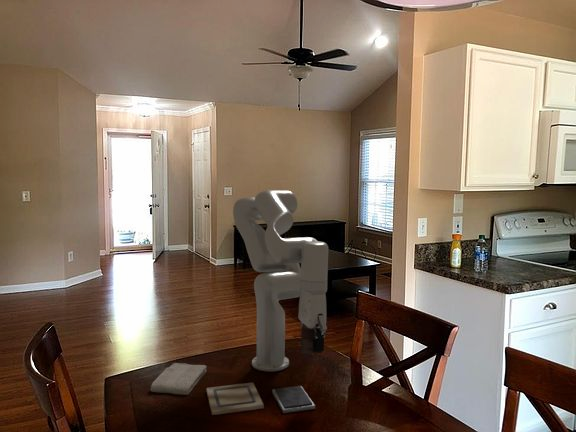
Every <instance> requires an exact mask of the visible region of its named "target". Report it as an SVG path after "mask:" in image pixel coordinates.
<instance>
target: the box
mask: <svg viewBox="0 0 576 432" xmlns="http://www.w3.org/2000/svg"><path fill="white" fill-rule="evenodd" d="M316 326H320V325H316ZM301 327H302V334H300V339H301V340H300V341H301V342H300V345H301V346H300V353H302V354H315V355H322V354H323V351H320V352H313V338H314V333H313V328H312V329H309V328H308V327H307V326H306V325H304V324H302V326H301ZM316 331H317V333H318V331H320V329H316Z"/></svg>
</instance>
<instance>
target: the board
mask: <svg viewBox="0 0 576 432" xmlns="http://www.w3.org/2000/svg"><path fill="white" fill-rule="evenodd" d="M206 394H207V399H208V404H209V407H210V411H211V415H212V416H214V415H215V416H216V415H217V416H218V415H222V414H223V415H224V414H229V413H231V414H232V413H237V412H245V411H253V410H260V409H264V408H265V406H264V402H263V400H262V399H261V397H260V394H259V392H258V390H257V388H256V385H255V384H254V382H248V383H247V382H246V383H245V382H244V383H236V384H229V385H221V386H211V387H206Z"/></svg>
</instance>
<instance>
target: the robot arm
mask: <svg viewBox="0 0 576 432" xmlns="http://www.w3.org/2000/svg"><path fill="white" fill-rule="evenodd" d="M297 209H298V200H297V197H296V195H295V194H294V193H293V192H292V191H291V190H284V189H283V190H282V189H281V190H279V189H278V190H276V189H275V190H274V189H269V190H262V191H260V192H259V193H258V194H257V195H255V196H248V197H247V196H246V197H242V198H239V199H237V200H236V201H235V202H234V204H233V209H232V215H233V220H234V221H233V222H234V224H235V227H236V229H237V230H238V232H239V233H240V235H241V238H242V240H243V242H244V244H245V248H246V251H247V252H246V253H247V254H248V259H249V260H250V261H249V262H250V265H251V266H252V269H253V270H254V271H255V272H257V273H260V274H259V275H257V276H256V277H255V279H254V282H253V289H254V295H255V302H256V303H255V305H256V356H255V357H254V358H252V360H251V366H252V367H253V368H254V369H256V370H258V371H262V372H271V373H272V372H279V371H283V370H285V369H287V368H288V367H289V366H290V360H289V358H288V357H286V356H285V355H286V354H285V353H286V352H285V350H286V349H285V347H286V344H285V343H286V340H285V339H286V312H285V310H284V308H283V307H282V305H281V304H280V303H279V301H281V300H288V299H294V298H299V299H298V300H299V301H298V316H297V317H298V319H299V321H300V326H301V329H300V330H301V334H302V324H304V325H306V326H307V327H308V328H309V329H312V328H313V333H314V338H313V352H320V351H322V352H324V350H325V338H326V334H327V333H326V332H327V329H328V326H327V296H326V293H327V291H328V276H329V275H328V273H329V269H328V268H329V245H328V244H327V243H326V242H324V241H318V240H317V239H316V238H314V237H309V236H304V237H284V238H282V237H281V236H282V235H283V234H285V233H286V232H288V231H289V230H290V229H291V228H292V226H293V224H294V215H293V214H294V213H296V211H297ZM256 221H264V223H265V224H266V225H267V228H266V229H264V228H263V227H262V226H261V225H260V224H258V223H257V222H256ZM316 325H320V326H316ZM316 329H320V331H318V333H317V331H316ZM301 334H300V335H301Z"/></svg>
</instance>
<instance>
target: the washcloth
mask: <svg viewBox="0 0 576 432" xmlns="http://www.w3.org/2000/svg"><path fill="white" fill-rule="evenodd" d="M207 368H208V367H207V365H205V364H189V363H185V362H183V363H182V362H181V363H179V362H173V363H172V364H171V365H170V366H169V367H166V368H164V370H163V371H162V373H160V374H159V375H158V376H157V378H156V379H154V381H153V382H152V384H151V385H150V392H153V393H159V394H160V393H161V394H164V393H165V394H173V395H183V396H185V395H186V396H188V395H189V394H190V393H191V392H192V391H193V389H194V388H195V386H196V385H197V384H198V382H199V381H200V380H201V378H202V377H204V375H205V374H206V373H207Z"/></svg>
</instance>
